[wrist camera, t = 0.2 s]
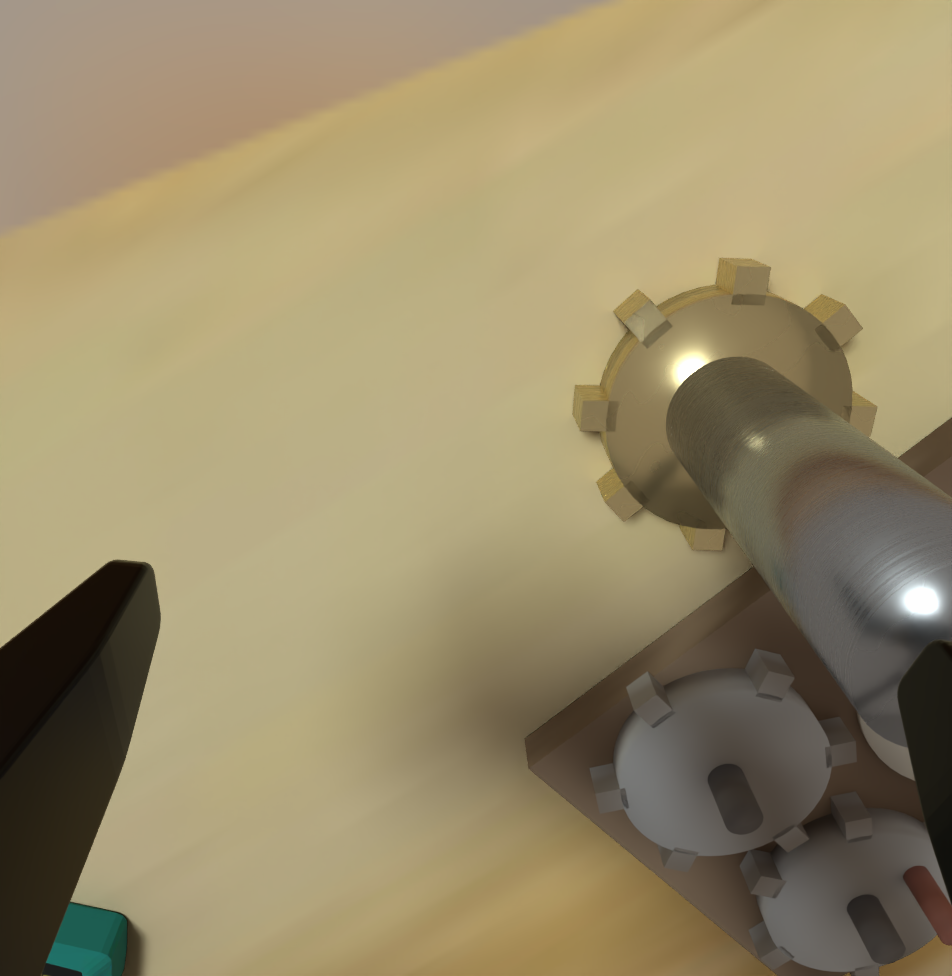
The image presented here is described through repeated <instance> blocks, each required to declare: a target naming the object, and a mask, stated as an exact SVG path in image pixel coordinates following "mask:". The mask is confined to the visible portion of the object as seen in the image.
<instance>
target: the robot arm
mask: <svg viewBox="0 0 952 976" xmlns="http://www.w3.org/2000/svg"><path fill="white" fill-rule="evenodd" d="M160 621H161V613H160V606H159V599H158V593H157V587H156V580H155V574H154V570H153V568H152V566H151V565H150V564H148V563H146V562H137V561H127V560H113V561H110V562H108V563H107V564H105V565H104V566H103V567H101V568H100V569H99V570H98V571H96V572H95V573H94V574H93V575H91V576H90V577H89V578H88V579H86V580H85V581H84V582H83V583H81V584H80V585H79V586H77V587H76V588H75V589H74V590H72V591H71V592H70V593H69V594H67V595H66V596H65V597H64V598H62V599H61V600H60V601H59V602H57V603H56V604H55V605H54V606H52V607H51V608H50V609H49V610H47V611H46V612H45V613H44V614H42V615H41V616H40V617H39V618H37V619H36V620H35V621H34V622H32V623H31V624H30V625H29V626H27V627H26V628H25V629H24V630H22V631H21V632H20V633H19V634H17V635H16V636H15V637H14V638H12V639H11V640H10V641H9V642H7V643H6V644H5V645H3V646H2V647H1V648H0V976H41V974H42V971H43V969H44V966H45V964H46V961H47V959H48V956H49V954H50V951H51V949H52V946H53V944H54V941H55V938H56V936H57V933H58V931H59V928H60V926H61V923H62V921H63V918H64V916H65V913H66V911H67V908H68V905H69V903H70V900H71V898H72V895H73V893H74V890H75V888H76V885H77V883H78V880H79V877H80V875H81V872H82V870H83V867H84V865H85V862H86V860H87V857H88V855H89V852H90V850H91V847H92V844H93V842H94V839H95V837H96V834H97V832H98V829H99V827H100V824H101V822H102V819H103V816H104V814H105V811H106V809H107V806H108V804H109V801H110V799H111V796H112V794H113V791H114V789H115V786H116V783H117V781H118V778H119V775H120V773H121V770H122V767H123V764H124V761H125V758H126V755H127V751H128V748H129V744H130V741H131V737H132V733H133V730H134V726H135V722H136V718H137V714H138V710H139V707H140V703H141V699H142V695H143V691H144V688H145V684H146V680H147V676H148V672H149V669H150V665H151V661H152V657H153V653H154V650H155V646H156V642H157V638H158V634H159V629H160ZM897 699H898V705H899V710H900V714H901V719H902V723H903V728H904V733H905V737H906V742H907V746H908V751H909V756H910V760H911V765H912V769H913V774H914V778H915V783H916V788H917V792H918V797H919V801H920V805H921V809H922V813H923V817H924V821H925V825H926V828H927V831H928V835H929V838H930V841H931V844H932V847H933V850H934V853H935V856H936V859H937V863H938V866H939V869H940V872H941V875H942V878H943V881H944V884H945V887H946V890H947V893H948V896H949V899H950V902H951V905H952V641H951V640H941V639H938V640H934V641H932V642H930V643H928V644H927V645H926V646H925V648H924V649H923V650H922V652H921V653H920V654H919V656H918V657H917V658H916V660H915V661H914V662H913V664H912V665H911V666H910V668H909V669H908V670H907V672H906V673H905V674H904V676H903V677H902V679H901V680H900V683H899V685H898V691H897Z"/></svg>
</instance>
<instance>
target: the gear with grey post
mask: <svg viewBox="0 0 952 976" xmlns="http://www.w3.org/2000/svg"><path fill="white" fill-rule="evenodd" d="M770 269H771V267H769V266H767V265H764V264H762V263H760V262H757V261H755V260H752V259H734V258H719V265H718V272H717V279H716V285H711V286H706V287H700V288H696V289H693V290H690V291H686V292H683V293H681V294H679V295H677V296H674V297H672V298H670V299H668V300H666V301H664V302H663V303H661V304H660V305H658V306H655V305H654V303H653V302H652V301H651V300H650V299H649V298H648V297H647V296H645V295H644V294H643V293H642V292H641V291H639V290H636V291H635V292H634V293H633V294H632V295H631V296H630V297H629V298H627V299H626V300H625V301H624V302H623V303H622V304H621V305H620V306H619V307H617V308H616V309H615V310H614V311H613V312H614V313H615V314H616V315H617V316H618V317H619V318H620V320H621V321H622V322H623V323H624V324H625V325H626V327H627V328H628V329H629V331H628V332H627V333H626V334H625V336H624V337H623V338H622V339H621V341H620V342H619V343H618V345H617V347H616V348H615V350H614V352H613V353H612V355H611V357H610V359H609V361H608V363H607V366H606V368H605V370H604V373H603V376H602V380H601V383H600V386H592V385H575V392H574V403H573V416H574V418H575V421H576V423H577V425H578V427H579V429H580V431H599V433H600V437H601V441H602V444H603V446H604V449H605V451H606V454H607V456H608V458H609V460H610V462H611V464H612V466H613V469H611V470H610V471H609V472H608V473H607V474H605V475H604V476H603V477H602V478H601V479H599V480H598V481H597V482H596V483H597V485H598V487H599V490H600V492H601V494H602V497H603V499H604V501H605V503H606V504H607V505H608V506H609V507H610V508H611V509H612V510H613V511H614V512H615V513H616V514H617V515H618V516H619V517H620V518H621V519H622V520H623V521H624V522H625V521H626V520H627V519H628V518H630V517H631V516H632V515H633V514H634V513H636V512H637V511H638V510H639V509H641V508H642V507H645V508H646V509H648V510H649V511H651V512H652V513H653V514H655V515H657V516H659V517H661V518H663V519H665V520H667V521H670V522H673V523H676V524H679V525H680V529H681V531H682V533H683V535H684V536H685V538H686V540H687V541H688V543H689V545H690V546H691V548H692V550H722V547H723V541H724V535H725V530H726V529H728V530H729V532H730V533H731V535H732V536H733V538H734V539H735V540H736V542H737V543H738V545H739V546H740V547H741V549H742V550H743V552H744V553H745V554H746V556H747V557H748V559H749V560H750V561H751V563H752V564H753V566H754V567H755V569H756V570H757V571H758V573H759V574H760V576H761V577H762V578H763V580H764V581H765V583H766V584H767V585H768V587H769V588H770V590H771V591H772V592H773V594H774V595H775V597H776V598H777V599H778V601H779V602H780V604H781V605H782V607H783V608H784V609H785V611H786V612H787V614H788V615H789V616H790V618H791V619H792V621H793V622H794V623H795V625H796V626H797V628H798V629H799V630H800V632H801V633H802V635H803V636H804V637H805V639H806V640H807V642H808V643H809V645H810V646H811V647H812V649H813V650H814V652H815V653H816V654H817V656H818V657H819V659H820V660H821V661H822V663H823V664H824V666H825V667H826V668H827V670H828V671H829V673H830V674H831V675H832V677H833V678H834V680H835V681H836V683H837V684H838V685H839V687H840V688H841V690H842V691H843V692H844V694H845V695H846V697H847V698H848V699H849V701H850V702H851V704H852V705H853V706H854V708H855V709H856V711H857V712H858V714H859V715H860V716H861V718H862V719H863V720H864V721H865V723H866V724H867V725H868V726H869V727H870V728H871V729H872V730H873V731H874V732H876V733H877V734H878V735H880V736H881V737H883V738H884V739H886V740H888V741H890V742H893V743H895V744H897V745H900V746H903V747H907V748H908V746H907V742H906V737H905V733H904V728H903V723H902V719H901V714H900V710H899V705H898V699H897V691H898V685H899V683H900V680H901V679H902V677H903V676H904V674H905V673H906V672H907V670H908V669H909V668H910V666H911V665H912V664H913V662H914V661H915V660H916V658H917V657H918V656H919V654H920V653H921V652H922V650H923V649H924V648H925V646H926V645H927V644H928V643H930V642H932V641H934V640H938V639H941V640H951V641H952V497H950V496H949V495H948V494H946V493H945V492H943V491H942V490H941V489H939V488H938V487H937V486H935V485H934V484H932V483H931V482H930V481H928V480H927V479H926V478H924V477H923V476H921V475H920V474H919V473H917V472H916V471H914V470H913V469H912V468H910V467H909V466H908V465H906V464H905V463H903V462H902V461H901V460H899V459H898V458H897V457H895V456H894V455H892V454H891V453H890V452H888V451H887V450H885V449H884V448H883V447H881V446H880V445H879V444H877V443H876V442H874V441H873V440H872V439H870V438H869V437H870V436H871V432H872V428H873V424H874V419H875V415H876V411H877V406H876V405H874V404H873V403H871V402H870V401H868V400H866V399H865V398H863V397H862V396H860V395H859V394H857V393H855V392H854V391H853V390H852V381H851V374H850V371H849V367H848V363H847V360H846V358H845V355H844V353H843V351H842V349H841V346H842V345H844V344H845V343H846V342H847V341H849V340H850V339H851V338H852V337H853V336H855V335H856V334H857V333H858V332H860V331H861V330H862V329H863V328H862V326H861V325H860V324H859V322H858V321H857V320H856V318H855V317H854V316H853V314H852V313H851V311H850V310H849V309H848V307H847V306H846V305H845V304H843V303H841V302H838V301H836V300H834V299H832V298H829V297H827V296H825V295H822V294H821V295H820V296H819V297H818V298H817V299H815V300H814V301H813V302H812V303H811V304H809V305H808V306H807V307H806V308H805V309H803V308H801V307H799V306H797V305H795V304H793V303H791V302H789V301H787V300H785V299H783V298H781V297H779V296H777V295H775V294H773V293H770V292H768V291H767V287H768V281H769V275H770ZM868 436H869V437H868Z"/></svg>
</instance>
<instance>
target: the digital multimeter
mask: <svg viewBox="0 0 952 976" xmlns="http://www.w3.org/2000/svg"><path fill="white" fill-rule="evenodd" d="M126 951H127V920H126V919H125V918H124V916H123V915H121V914H119V913H116V912H112V911H108V910H104V909H100V908H95V907H90V906H85V905H80V904H76V903H71V902H70V903H69V905H68V908H67V911H66V913H65V916H64V918H63V921H62V923H61V926H60V928H59V931H58V933H57V936H56V938H55V941H54V944H53V946H52V949H51V951H50V954H49V956H48V959H47V961H46V964H45V966H44V969H43V971H42V974H41V976H121V975H122V973H123V970H124V966H125V958H126Z"/></svg>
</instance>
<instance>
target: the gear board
mask: <svg viewBox="0 0 952 976" xmlns="http://www.w3.org/2000/svg"><path fill="white" fill-rule="evenodd" d="M898 459H899V460H901V461H902V462H903V463H905V464H906V465H908V466H909V467H910V468H912V469H913V470H914V471H916V472H917V473H919V474H920V475H921V476H923V477H924V478H926V479H927V480H928V481H930V482H931V483H932V484H934V485H935V486H937V487H938V488H939V489H941V490H942V491H943V492H945V493H946V494H948V495H949V496H950V497H952V418H951V419H949V420H948V421H947V422H945V423H944V424H943V425H941V426H940V427H939V428H937V429H936V430H935V431H933V432H932V433H931V434H929V435H928V436H927V437H925V438H924V439H923V440H921V441H920V442H919V443H917V444H916V445H915V446H913V447H912V448H911V449H909V450H908V451H907V452H905V453H904V454H903V455H901V456H900V457H899V458H898ZM525 745H526V753H527V760H528V768H529V769H530V770H531V771H532V772H533V773H534V774H536V775H537V776H538V777H539V778H540V779H542V780H543V781H544V782H545V783H546V784H548V785H549V786H550V787H551V788H552V789H554V790H555V791H556V792H557V793H558V794H560V795H561V796H562V797H563V798H565V799H566V800H567V801H568V802H569V803H571V804H572V805H573V806H574V807H575V808H577V809H578V810H579V811H580V812H581V813H583V814H584V815H585V816H586V817H587V818H589V819H590V820H591V821H592V822H593V823H595V824H596V825H597V826H598V827H599V828H601V829H602V830H603V831H604V832H605V833H607V834H608V835H609V836H610V837H611V838H613V839H614V840H615V841H616V842H618V843H619V844H620V845H621V846H622V847H624V848H625V849H626V850H627V851H628V852H630V853H631V854H632V855H633V856H634V857H636V858H637V859H638V860H639V861H640V862H642V863H643V864H644V865H645V866H646V867H648V868H649V869H650V870H651V871H652V872H654V873H655V874H656V875H657V876H658V877H660V878H661V879H662V880H663V881H664V882H666V883H667V884H668V885H669V886H670V887H672V888H673V889H674V890H675V891H677V892H678V893H679V894H680V895H681V896H683V897H684V898H685V899H686V900H687V901H689V902H690V903H691V904H692V905H693V906H695V907H696V908H697V909H698V910H699V911H701V912H702V913H703V914H704V915H705V916H707V917H708V918H709V919H710V920H711V921H713V922H714V923H715V924H716V925H717V926H719V927H720V928H721V929H722V930H723V931H725V932H726V933H727V934H728V935H729V936H731V937H732V938H733V939H734V940H736V941H737V942H738V943H739V944H740V945H742V946H743V947H744V948H745V949H746V950H748V951H749V952H750V953H751V954H752V955H754V956H755V957H756V958H757V959H758V960H760V961H761V962H762V963H763V964H764V965H766V966H767V967H768V968H769V969H770V970H772V971H773V972H774V973H775V974H776V975H778V976H843V975H845V974H847V973H848V972H850V974H851V976H879V967H880V966H883V965H886V964H889V963H893V962H895V961H897V960H899V959H902V958H904V957H906V956H908V955H910V954H911V953H913V952H915V951H917V950H918V949H920V948H921V947H923V946H924V945H925V944H927V943H928V942H929V941H931V940H932V939H933V938H934V937H935V936H936V935H938V936H939V938H940V940H941V941H942V943H944V944H946V945H952V905H951V902H950V899H949V896H948V893H947V890H946V887H945V884H944V881H943V878H942V875H941V872H940V869H939V866H938V863H937V859H936V856H935V853H934V850H933V847H932V844H931V841H930V838H929V835H928V831H927V828H926V825H925V821H924V817H923V813H922V809H921V805H920V801H919V797H918V792H917V788H916V783H915V778H914V774H913V769H912V765H911V760H910V756H909V751H908V748H907V747H903V746H900V745H897V744H895V743H893V742H890V741H888V740H886V739H884V738H883V737H881V736H880V735H878V734H877V733H876V732H874V731H873V730H872V729H871V728H870V727H869V726H868V725H867V724H866V723H865V721H864V720H863V719H862V718H861V716H860V715H859V714H858V712H857V711H856V709H855V708H854V706H853V705H852V704H851V702H850V701H849V699H848V698H847V697H846V695H845V694H844V692H843V691H842V690H841V688H840V687H839V685H838V684H837V683H836V681H835V680H834V678H833V677H832V675H831V674H830V673H829V671H828V670H827V668H826V667H825V666H824V664H823V663H822V661H821V660H820V659H819V657H818V656H817V654H816V653H815V652H814V650H813V649H812V647H811V646H810V645H809V643H808V642H807V640H806V639H805V637H804V636H803V635H802V633H801V632H800V630H799V629H798V628H797V626H796V625H795V623H794V622H793V621H792V619H791V618H790V616H789V615H788V614H787V612H786V611H785V609H784V608H783V607H782V605H781V604H780V602H779V601H778V599H777V598H776V597H775V595H774V594H773V592H772V591H771V590H770V588H769V587H768V585H767V584H766V583H765V581H764V580H763V578H762V577H761V576H760V574H759V573H758V571H757V570H756V569H755V567H753V568H751V569H750V570H749V571H747V572H746V573H745V574H743V575H742V576H741V577H739V578H738V579H737V580H735V581H734V582H733V583H731V584H730V585H729V586H727V587H726V588H725V589H723V590H722V591H721V592H719V593H718V594H717V595H715V596H714V597H713V598H711V599H710V600H709V601H707V602H706V603H705V604H703V605H702V606H701V607H699V608H698V609H697V610H695V611H694V612H693V613H691V614H690V615H689V616H687V617H686V618H685V619H683V620H682V621H681V622H679V623H678V624H677V625H675V626H674V627H673V628H671V629H670V630H669V631H667V632H666V633H665V634H663V635H662V636H661V637H659V638H658V639H657V640H655V641H654V642H653V643H652V644H650V645H649V646H648V647H646V648H645V649H644V650H642V651H641V652H640V653H638V654H637V655H636V656H634V657H633V658H632V659H630V660H629V661H628V662H626V663H625V664H624V665H622V666H621V667H620V668H618V669H617V670H616V671H614V672H613V673H612V674H610V675H609V676H608V677H606V678H605V679H604V680H602V681H601V682H600V683H598V684H597V685H596V686H594V687H593V688H592V689H590V690H589V691H588V692H586V693H585V694H584V695H582V696H581V697H580V698H578V699H577V700H576V701H574V702H573V703H572V704H570V705H569V706H568V707H566V708H565V709H564V710H562V711H561V712H560V713H558V714H557V715H556V716H554V717H553V718H552V719H550V720H549V721H548V722H546V723H545V724H544V725H542V726H541V727H540V728H538V729H537V730H536V731H534V732H533V733H532V734H530V735H529V736H528V737H527V738H525Z"/></svg>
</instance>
